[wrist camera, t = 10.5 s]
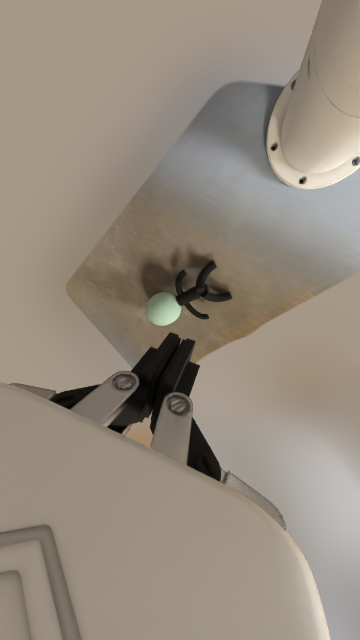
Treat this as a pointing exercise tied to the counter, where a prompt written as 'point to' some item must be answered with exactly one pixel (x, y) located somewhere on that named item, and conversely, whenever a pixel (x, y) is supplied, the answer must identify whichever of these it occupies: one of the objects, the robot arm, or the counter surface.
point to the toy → (182, 299)
